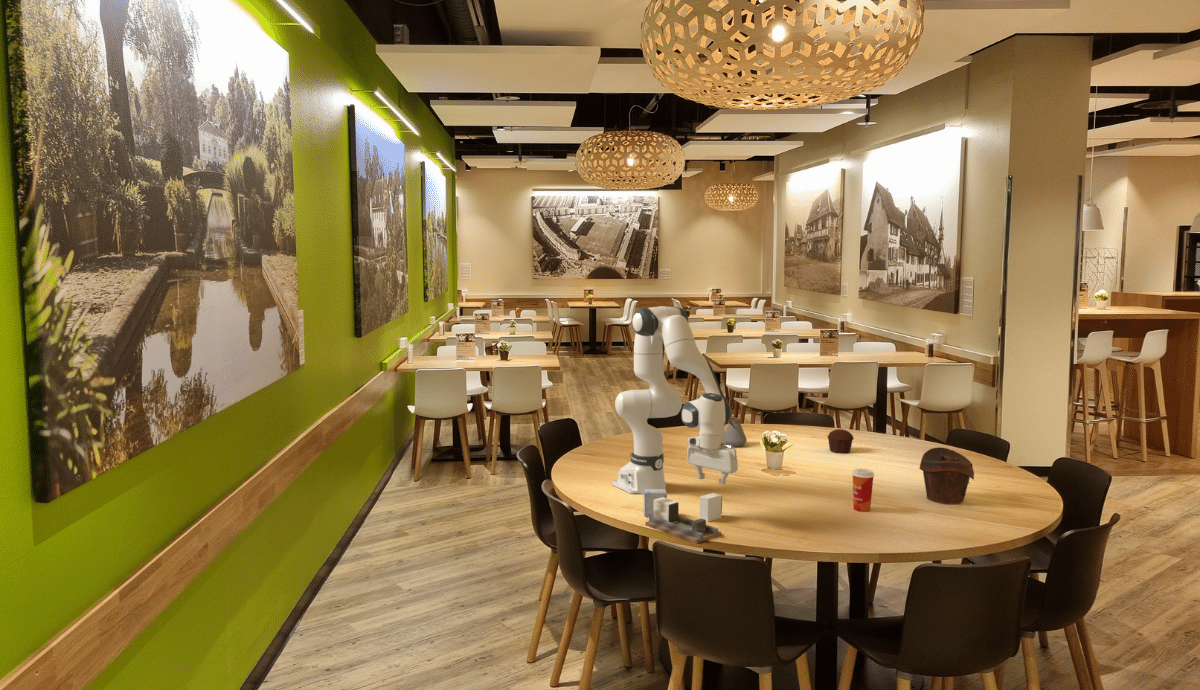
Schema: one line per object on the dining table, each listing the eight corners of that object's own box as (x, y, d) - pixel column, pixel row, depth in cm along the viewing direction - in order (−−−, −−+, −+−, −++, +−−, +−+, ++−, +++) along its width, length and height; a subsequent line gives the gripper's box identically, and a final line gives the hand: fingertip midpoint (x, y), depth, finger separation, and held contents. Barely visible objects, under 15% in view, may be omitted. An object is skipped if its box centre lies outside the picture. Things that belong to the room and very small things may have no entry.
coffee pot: (724, 441, 393) (725, 411, 391) (748, 443, 389) (749, 412, 387) (716, 452, 373) (716, 419, 371) (741, 454, 369) (741, 421, 367)
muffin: (823, 452, 373) (823, 430, 372) (831, 447, 382) (832, 426, 381) (849, 455, 366) (849, 433, 365) (856, 450, 375) (857, 429, 374)
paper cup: (847, 505, 293) (849, 468, 292) (869, 506, 293) (870, 468, 291) (853, 512, 286) (855, 474, 284) (876, 513, 285) (877, 474, 284)
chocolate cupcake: (954, 510, 288) (957, 461, 286) (906, 496, 304) (909, 449, 303) (984, 503, 297) (987, 455, 295) (936, 490, 314) (939, 444, 312)
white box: (699, 519, 279) (700, 496, 278) (714, 514, 284) (714, 492, 283) (707, 521, 276) (707, 499, 275) (722, 517, 281) (722, 494, 280)
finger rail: (645, 525, 273) (645, 502, 272) (670, 517, 280) (670, 495, 279) (696, 543, 255) (696, 518, 254) (721, 534, 263) (721, 511, 262)
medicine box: (665, 512, 286) (665, 489, 285) (667, 517, 281) (667, 492, 280) (643, 513, 285) (643, 489, 284) (644, 517, 281) (644, 492, 280)
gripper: (742, 445, 271) (741, 485, 272) (696, 435, 286) (696, 474, 287) (729, 447, 267) (729, 488, 268) (684, 438, 282) (683, 477, 283)
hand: (711, 481), depth 278 cm, fingers open, 8 cm apart
